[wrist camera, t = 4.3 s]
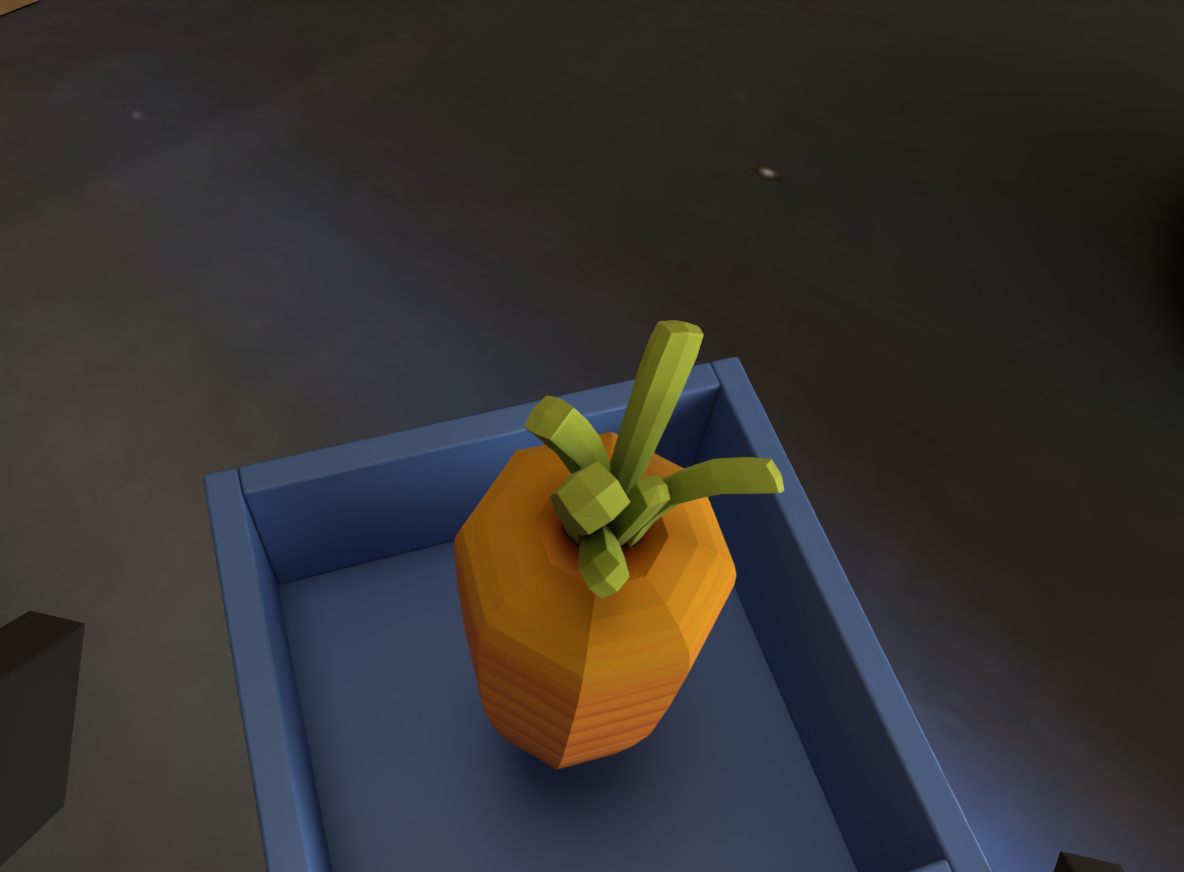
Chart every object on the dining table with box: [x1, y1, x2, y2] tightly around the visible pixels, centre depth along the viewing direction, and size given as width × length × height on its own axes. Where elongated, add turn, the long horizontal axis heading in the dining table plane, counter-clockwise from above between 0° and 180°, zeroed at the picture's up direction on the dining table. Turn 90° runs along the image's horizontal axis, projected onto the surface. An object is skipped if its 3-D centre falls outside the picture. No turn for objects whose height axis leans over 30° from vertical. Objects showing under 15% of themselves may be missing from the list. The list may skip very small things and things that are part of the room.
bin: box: [203, 357, 992, 872], centre depth 25 cm, size 14×14×6 cm
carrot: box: [454, 320, 784, 770], centre depth 20 cm, size 5×5×15 cm
